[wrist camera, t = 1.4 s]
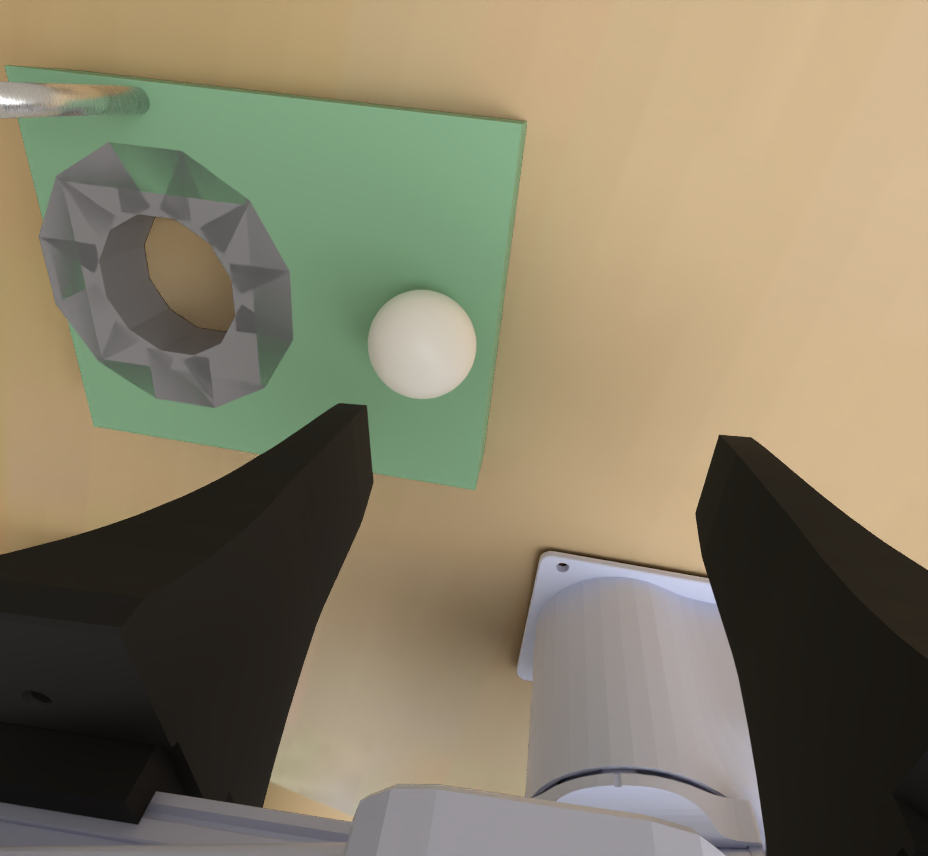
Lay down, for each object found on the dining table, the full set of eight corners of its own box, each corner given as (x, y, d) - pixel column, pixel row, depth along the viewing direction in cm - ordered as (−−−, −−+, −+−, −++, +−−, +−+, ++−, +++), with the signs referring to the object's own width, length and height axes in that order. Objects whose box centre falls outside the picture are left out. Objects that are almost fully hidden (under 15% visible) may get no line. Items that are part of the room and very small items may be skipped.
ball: (488, 284, 18) (474, 318, 15) (477, 380, 20) (462, 425, 17) (385, 270, 18) (353, 300, 15) (382, 365, 20) (353, 408, 17)
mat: (527, 121, 18) (522, 123, 16) (483, 456, 24) (475, 490, 22) (56, 67, 19) (-5, 64, 17) (126, 398, 25) (86, 425, 23)
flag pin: (147, 87, 17) (1, 83, 12) (151, 115, 17) (10, 119, 13) (57, 77, 17) (-117, 69, 13) (63, 105, 17) (-105, 106, 13)
